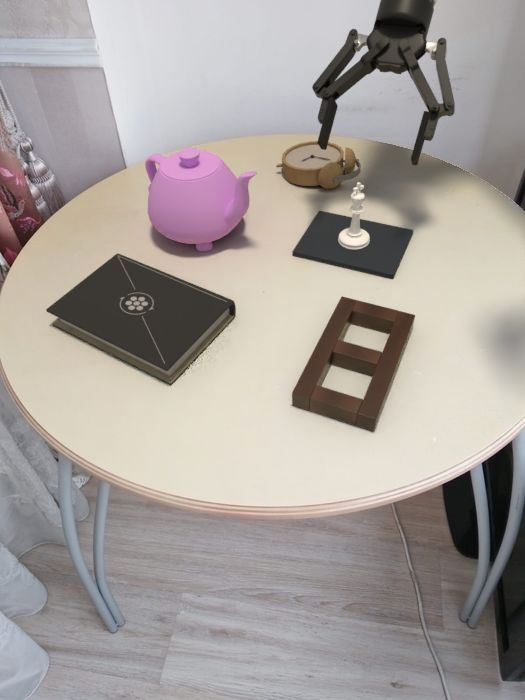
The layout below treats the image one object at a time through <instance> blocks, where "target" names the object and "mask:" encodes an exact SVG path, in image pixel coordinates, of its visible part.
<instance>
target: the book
mask: <svg viewBox="0 0 525 700" xmlns="http://www.w3.org/2000/svg"><path fill="white" fill-rule="evenodd" d="M236 309H237V308H236V302H235V301H234V300H233V299H231V298H228V297H226V296H225V295H222V294H219V293H216V292H214V291H211V290H209V289H206V288H204V287H201V286H199V285H196V284H195V283H193V282H190V281H187V280H184V279H182V278H180V277H178V276H175V275H172V274H170V273H167V272H166V271H162V270H160V269H157V268H156V267H153V266H150V265H148V264H146V263H143V262H140V261H138V260H136V259H133V258H130V257H128V256H126V255H124V254H121V253H115V254H114V255H113V256H112V257H111V258H109V259H108V260H106V262H104V263H103V264H102V265H100V266H99V267H98V268H97V269H96V270H94V271H93V272H91V273H90V274H89V275H87V276H86V277H85V278H84V279H83V280H82V281H80V282H79V283H77V284H76V285H75V286H74V287H72V288H71V289H70V290H69V291H68V292H66V293H65V294H63V295H62V296H61V297H60V298H58V299H57V300H56V301H55V302H54V303H53V304H51V305H50V306H48V307H47V308H46V310H45V311H46V312H47V313H49V314H51V315H53V316H54V317H56V318H57V319H55V321H53V322H52V326H53V327H55V328H58V329H60V331H61V330H62V331H64V332H66V333H67V334H69V335H71V336H74V337H75V338H77V339H79V340H81V341H83V342H85V343H87V344H89V345H90V346H93V347H95V348H97V349H99V350H100V351H103V352H104V353H107V354H109V355H111V356H113V357H115V358H117V359H119V360H120V361H123V362H124V363H127V364H128V365H130V366H132V367H134V368H137V369H138V370H140V371H142V372H144V373H146V374H148V375H150V376H152V377H154V378H156V379H157V380H160V381H161V382H164V383H166V384H167V385H170V386H172V385H174V383H175V382H176V381H177V379H178V378H180V376H181V375H182V374H183V373H184V372H185V371H186V370H187V369H188V368H189V367H190V366H191V365H192V364H193V362H195V360H197V358H199V356H200V355H201V354H202V353H203V352H204V351H205V350H206V349H207V348H208V346H209V345H211V343H213V341H214V340H215V339H217V337H218V336H219V335H220V334H221V333H222V332H223V331H224V330H225V328H227V326H228V325H229V324H230V323H231V322H232V321H233V320H234V319H235V318H236V314H237V313H236V311H237V310H236Z"/></svg>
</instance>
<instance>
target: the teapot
mask: <svg viewBox="0 0 525 700" xmlns="http://www.w3.org/2000/svg"><path fill="white" fill-rule="evenodd" d="M156 164H157V165H158V168H157V165H156ZM144 165H145V171H146V173H147V174H146V175H147V177H148V179H149V182H150V184H149V186H148V188H147V189H148V197H147V215H148V218H149V221H150V224H151V225H152V227H154V229H155V230H156V231H157V232H159V233H160V234H161V235H163V236H164V238H166V239H169V240H172V241H175V242H178V243H182V244H189V245H195V249H196V250H197V251H199V252H207V251H211V249H212V248H213V247H214V245H213V242H215V241H218V240H220V239H221V238H223V237H225V236H227V235H228V234H229V233H231V232H232V231H233V230H234V229H235V228H236V227H237V226H238V224H239V223H240V222H241V221H242V219H243V217H244V216H245V215H246V214H247V213H248V210H249V208H250V200H251V199H250V192H249V183H250V181H251V179H252V178H254V177H255V176H256V175H258V171H254V170H253V171H246V172H243V173H241V174H239V176H238V177H237V176H236V175H235V174H234V172H233V171H232V170H231V168H230V167H229V166H228V165H227V164H226V162H225V161H224V160H223V159H221V157H220V156H219V155H217V154H216V153H214V152H211V151H209V150H205V149H197V148H194V147H187V148H183V149H181V150H179V151H177V152H174V153H172V154H170V155H169V156H167V157H166V156H165V155H163V154H160V153H153V154H151V155H149V156H148V157H147V158H146V159H145V164H144Z"/></svg>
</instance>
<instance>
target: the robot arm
mask: <svg viewBox="0 0 525 700" xmlns="http://www.w3.org/2000/svg"><path fill="white" fill-rule="evenodd" d="M437 1H438V0H380V2H379V5H378V9H377V13H376V16H375V20H374V24H373V28H372V30H371V32H370V33H369V34H368V35H367V34H362V33H359V32H358V30H357V29H356V28H352V29H350V30H349V32H348V34H347V36H346V40H345V42H344V44H343V45H342V47H341V48H340V50H339V51H338V52H337V53H336V54H335V56H334V57H333V58H332V60H331V61H330V62H329V64H328V65H326V67H325V69H324V70H323V71H322V72H321V73H320V75H319V77H318V78H317V79H316V80H315V82H314V83H313V84H312V91H313V93H314V95H315V97H316V98H318V99H321V103H320V106H319V111H318V113H317V121H318V123H319V124H320V125H321V127H320V131H319V135H318V138H317V141H318V142H317V143H318V145H319V146H320V148H321V149H323V150H326V148H327V145H328V142H330V137H331V133H332V129H333V126H334V122H335V119H336V115H337V110H338V103H337V100H338V99H339V98H341V97H342V96H343V95H344V94H346V92H348V91H349V90H350V89H351V88H352V87H354V86H356V84H357V83H359V82H361V80H362V79H363V78H365V77H366V76H367V75H371V74H372V73H373V72H374V71H375V70H379V72H380V73H390V72H391V73H393V74H396V75H402V73H403V74H404V73H406V72H407V73H408V75H409V77H410V79H411V80H412V81H413V83H414V86H415V87H416V90H417V92H418V93H419V95H420V98H421V99H422V101H423V103H424V106H425V108H426V109H427V110H423V113H422V117H421V120H420V124H419V128H418V131H417V135H416V139H415V142H414V146H413V149H412V153H411V156H410V161H411V165H413V166H418V165H419V161H420V157H421V154H422V152H423V151H422V150H423V146H424V145H425V144H424V143H425V141H428V142H431V141H432V140H433V139H434V136H435V134H436V133H435V132H436V130H437V125H438V124H439V123H438V121H439V120H440V118H443V117H446V116H447V117H452V116H454V115H455V111H456V105H455V98H454V94H453V89H452V84H451V79H450V75H449V74H450V73H449V71H448V65H447V59H446V57H447V52H448V49H447V45H448V43H447V39H446V38H445V37H440V38H438V40H437V41H428V40H427V37H428V33H429V29H430V27H431V22H432V18H433V15H434V12H435V9H434V7H435V6H436V4H437ZM364 47H367V50H368V51H365V53H363V55H361V57H360V59H359V60H358V61H357V62H356V63H355V64H354V65H352V66H351V67H350V68H348V69H347V70H346V71H345V72H344V70H345V69H346V67H347V66H349V64H350V62H351V61H352V60H353V58H354V57H355V56H356V54H357V53H359V52H360V51H361V50H362V48H364ZM426 53H428V54H429V57H430V59H431V60H432V61H435V70H436V75H437V80H438V84H439V89H440V94H441V98H442V103H439V102H438V100H437V97H436V96H435V93H434V92H433V90H432V88H431V86H430V84H429V82H428V80H427V78H426V77H425V74H424V73H423V70H422V68H421V66H420V64H419V60H420V59H422V57H423V56H425V54H426ZM343 72H344V73H343ZM342 73H343V74H342Z"/></svg>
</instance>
